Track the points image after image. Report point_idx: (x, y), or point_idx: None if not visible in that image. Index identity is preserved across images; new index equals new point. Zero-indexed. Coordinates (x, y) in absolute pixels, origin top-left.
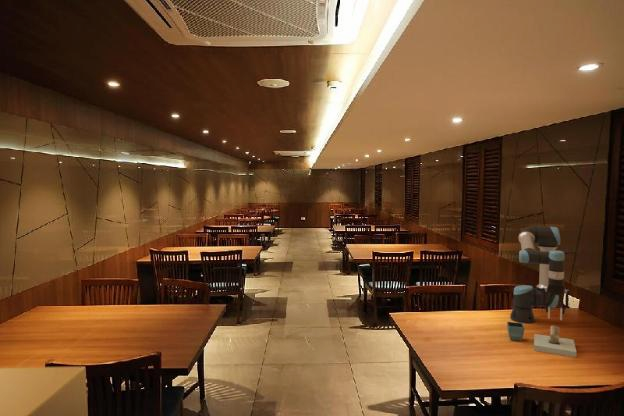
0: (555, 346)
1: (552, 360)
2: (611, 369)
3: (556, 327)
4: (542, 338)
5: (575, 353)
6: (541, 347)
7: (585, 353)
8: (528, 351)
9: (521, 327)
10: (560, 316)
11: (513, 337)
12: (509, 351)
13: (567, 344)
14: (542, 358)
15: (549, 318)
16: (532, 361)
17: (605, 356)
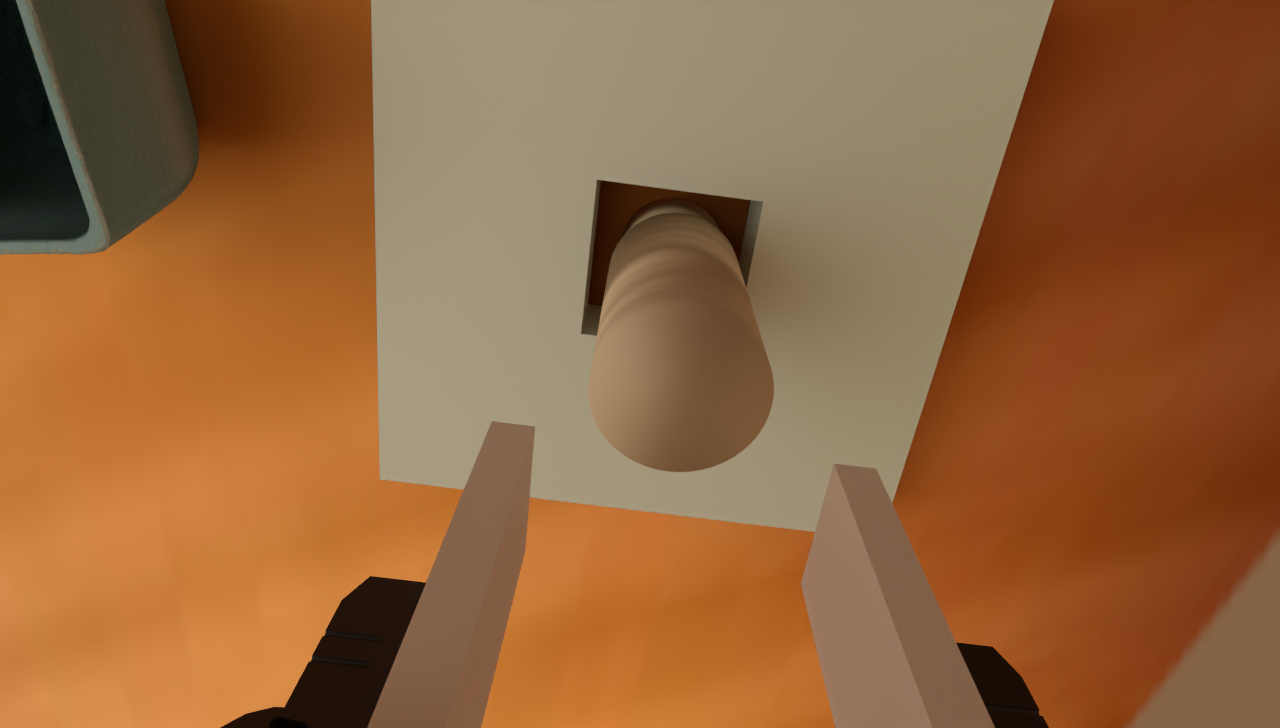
0: None
1: (579, 641)
2: (1105, 677)
3: (704, 417)
4: (506, 139)
5: None
6: None
7: (1041, 328)
8: (341, 488)
9: (47, 253)
10: (821, 665)
11: (67, 170)
12: (144, 552)
13: (854, 298)
14: None
15: (521, 553)
16: None
17: (1270, 350)
